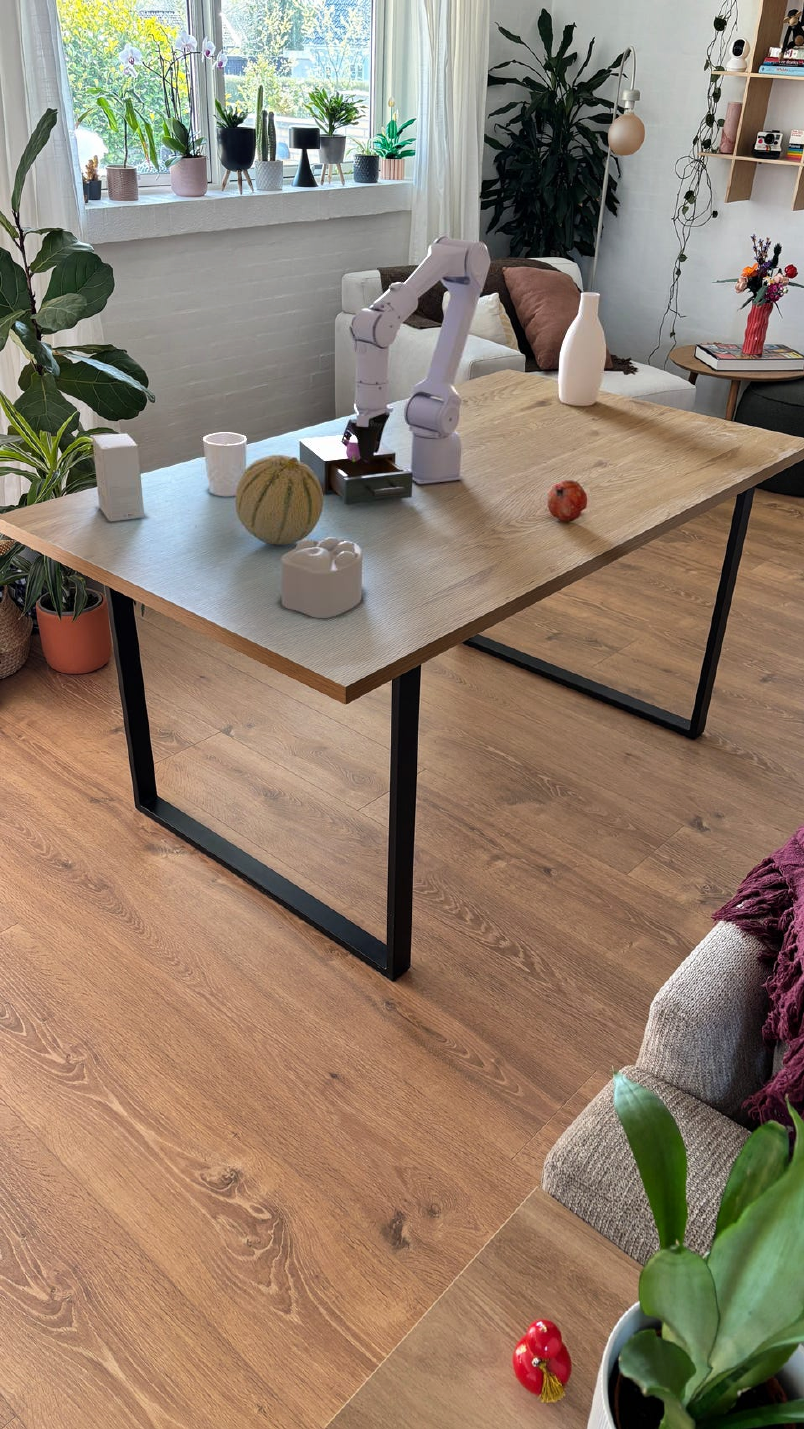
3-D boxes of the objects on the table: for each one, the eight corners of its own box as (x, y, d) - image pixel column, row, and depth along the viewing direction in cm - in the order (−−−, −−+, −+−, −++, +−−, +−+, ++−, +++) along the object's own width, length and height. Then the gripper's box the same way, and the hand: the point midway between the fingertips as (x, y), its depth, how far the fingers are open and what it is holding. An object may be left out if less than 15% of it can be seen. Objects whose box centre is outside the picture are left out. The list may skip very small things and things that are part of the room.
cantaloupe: (243, 523, 192) (240, 439, 184) (326, 527, 192) (327, 443, 184) (229, 556, 179) (225, 467, 171) (318, 560, 179) (318, 471, 171)
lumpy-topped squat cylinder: (272, 603, 164) (271, 549, 160) (324, 575, 174) (324, 524, 169) (327, 622, 159) (327, 567, 155) (377, 592, 169) (379, 540, 164)
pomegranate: (557, 520, 205) (528, 497, 198) (581, 488, 204) (553, 463, 196) (581, 537, 200) (553, 514, 193) (606, 505, 199) (579, 480, 192)
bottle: (554, 405, 267) (566, 296, 254) (556, 394, 276) (567, 288, 263) (599, 409, 265) (614, 299, 252) (600, 397, 275) (614, 291, 262)
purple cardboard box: (352, 416, 198) (344, 438, 206) (335, 435, 196) (327, 456, 205) (381, 440, 198) (371, 461, 206) (363, 459, 196) (354, 479, 205)
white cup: (240, 499, 202) (238, 447, 197) (200, 495, 203) (196, 442, 198) (253, 486, 208) (252, 434, 203) (214, 482, 210) (211, 430, 205)
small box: (145, 518, 192) (138, 445, 185) (109, 522, 190) (101, 449, 183) (133, 503, 198) (127, 432, 192) (98, 507, 196) (90, 435, 189)
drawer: (422, 505, 200) (424, 480, 198) (355, 514, 195) (356, 488, 193) (384, 476, 214) (385, 452, 211) (321, 483, 208) (320, 459, 206)
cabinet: (394, 486, 212) (395, 453, 208) (324, 494, 206) (324, 460, 203) (366, 465, 222) (367, 433, 219) (299, 472, 217) (299, 439, 213)
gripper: (385, 392, 187) (382, 469, 194) (401, 373, 200) (398, 446, 207) (345, 388, 188) (344, 465, 195) (363, 370, 201) (361, 443, 208)
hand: (369, 455), depth 201 cm, fingers open, 4 cm apart
